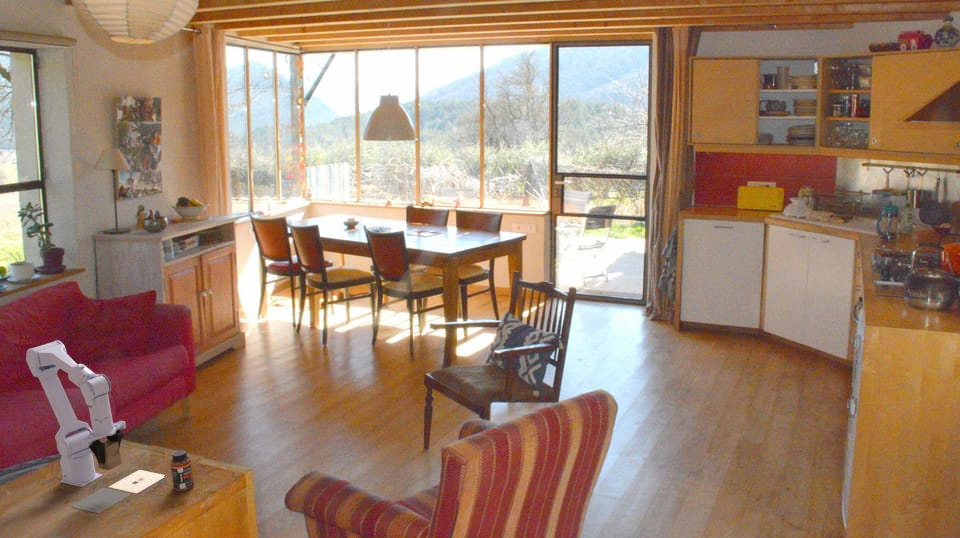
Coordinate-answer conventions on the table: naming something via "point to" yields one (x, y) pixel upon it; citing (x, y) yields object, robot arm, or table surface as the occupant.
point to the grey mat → (100, 500)
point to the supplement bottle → (181, 471)
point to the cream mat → (137, 481)
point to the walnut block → (111, 455)
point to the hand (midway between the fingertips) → (108, 459)
